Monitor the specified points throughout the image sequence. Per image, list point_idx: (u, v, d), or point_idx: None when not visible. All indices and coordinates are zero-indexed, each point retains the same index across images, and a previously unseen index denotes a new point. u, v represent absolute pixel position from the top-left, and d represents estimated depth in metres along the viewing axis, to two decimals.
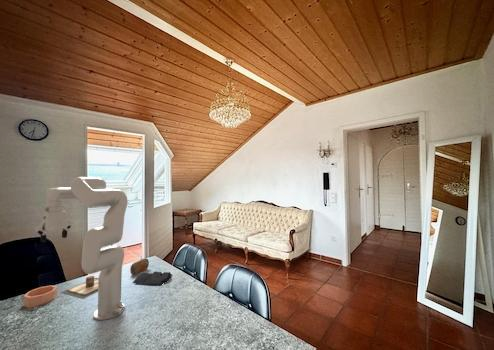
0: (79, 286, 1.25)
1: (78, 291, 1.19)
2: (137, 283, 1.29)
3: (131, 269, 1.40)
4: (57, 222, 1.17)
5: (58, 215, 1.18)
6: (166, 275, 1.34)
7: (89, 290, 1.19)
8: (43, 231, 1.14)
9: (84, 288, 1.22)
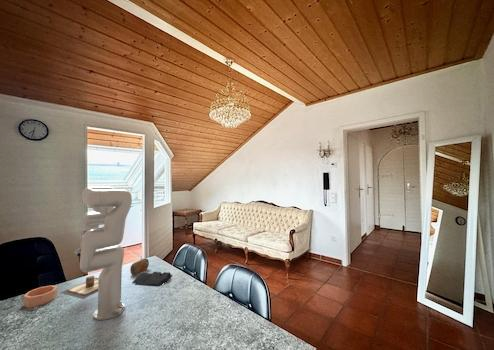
0: (79, 286, 1.25)
1: (78, 291, 1.19)
2: (137, 283, 1.29)
3: (131, 269, 1.40)
4: None
5: None
6: (166, 275, 1.34)
7: (89, 290, 1.19)
8: (81, 253, 1.22)
9: (84, 288, 1.22)
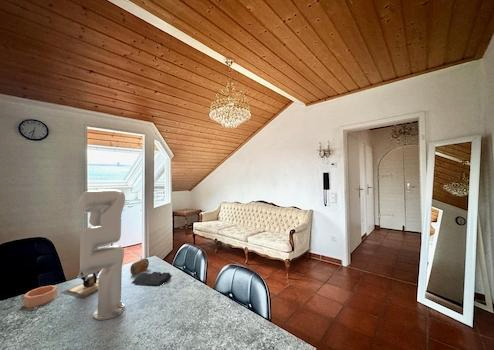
0: (79, 286, 1.25)
1: (78, 291, 1.19)
2: (136, 283, 1.29)
3: (131, 269, 1.40)
4: None
5: None
6: (165, 275, 1.33)
7: (89, 290, 1.19)
8: (84, 276, 1.23)
9: (84, 288, 1.22)
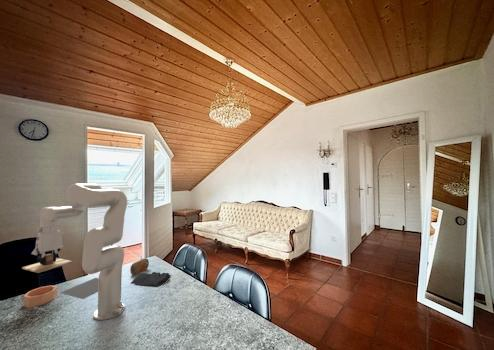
0: (37, 264, 1.14)
1: (32, 268, 1.08)
2: (135, 283, 1.29)
3: (131, 269, 1.40)
4: (51, 242, 1.14)
5: (52, 235, 1.14)
6: (164, 276, 1.33)
7: (44, 268, 1.08)
8: (41, 253, 1.12)
9: (40, 265, 1.12)
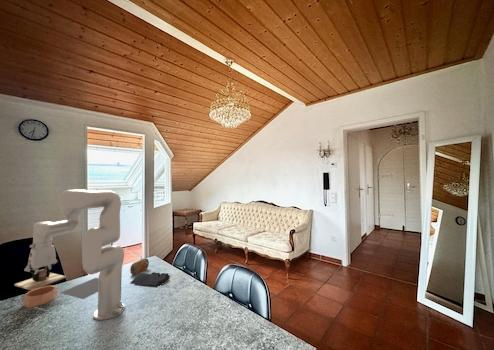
0: (29, 280, 1.12)
1: (25, 285, 1.06)
2: (135, 283, 1.29)
3: (131, 269, 1.40)
4: (45, 258, 1.12)
5: (45, 250, 1.12)
6: (163, 276, 1.32)
7: (37, 285, 1.06)
8: (34, 269, 1.10)
9: (33, 282, 1.10)
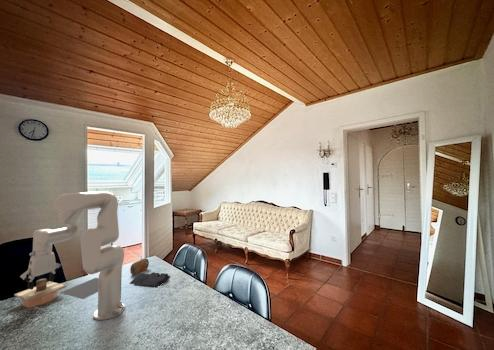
0: (29, 289, 1.12)
1: (25, 296, 1.06)
2: (134, 284, 1.29)
3: (131, 269, 1.40)
4: (44, 266, 1.11)
5: (45, 258, 1.12)
6: (163, 276, 1.32)
7: (37, 295, 1.06)
8: (30, 277, 1.09)
9: (33, 292, 1.09)
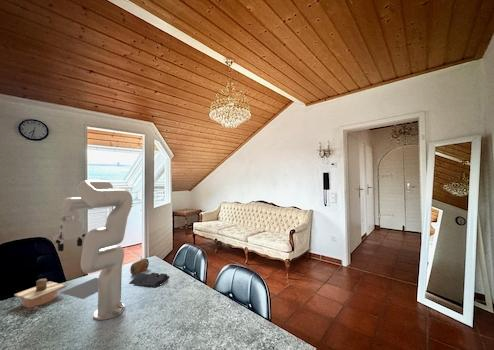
0: (29, 289, 1.12)
1: (25, 296, 1.06)
2: None
3: (131, 269, 1.40)
4: (73, 231, 1.20)
5: (74, 224, 1.20)
6: (162, 277, 1.32)
7: (37, 295, 1.06)
8: (60, 240, 1.17)
9: (33, 292, 1.09)
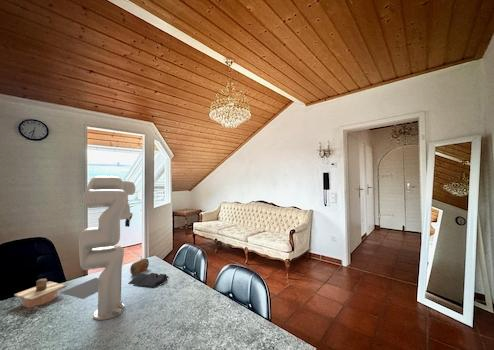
0: (29, 289, 1.12)
1: (25, 296, 1.06)
2: None
3: (131, 269, 1.40)
4: (124, 212, 1.38)
5: (124, 206, 1.38)
6: (161, 277, 1.31)
7: (37, 295, 1.06)
8: None
9: (33, 292, 1.09)
